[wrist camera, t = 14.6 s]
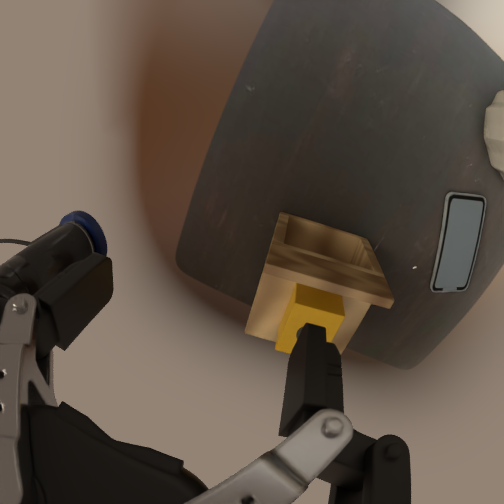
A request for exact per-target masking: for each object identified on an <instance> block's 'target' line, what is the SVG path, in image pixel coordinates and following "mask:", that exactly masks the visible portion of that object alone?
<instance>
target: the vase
mask: <svg viewBox="0 0 504 504" xmlns="http://www.w3.org/2000/svg"><path fill="white" fill-rule="evenodd" d="M484 140H485V144H486V147H487V151H488V155H489V159H490V163H491V166H492V167H493V168H495V169H496V170H497V171H499V173H500V175H501V176H502V178H503V180H504V90H501V91H499V92H497V94H496V96H495V98H494V100H493V102H492V104H491V105H490V106H488V107H487V108H486V113H485V122H484Z"/></svg>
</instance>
